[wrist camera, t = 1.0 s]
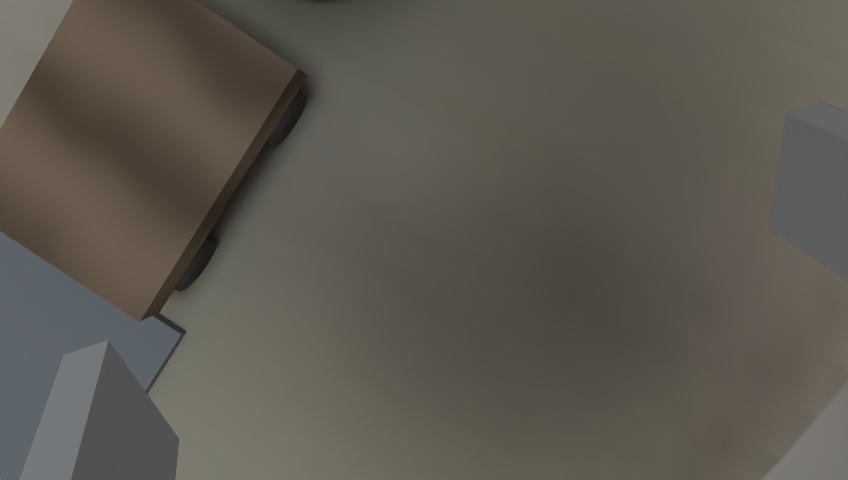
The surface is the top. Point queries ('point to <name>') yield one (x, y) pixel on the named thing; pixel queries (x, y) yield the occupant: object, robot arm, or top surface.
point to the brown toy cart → (138, 143)
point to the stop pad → (58, 342)
